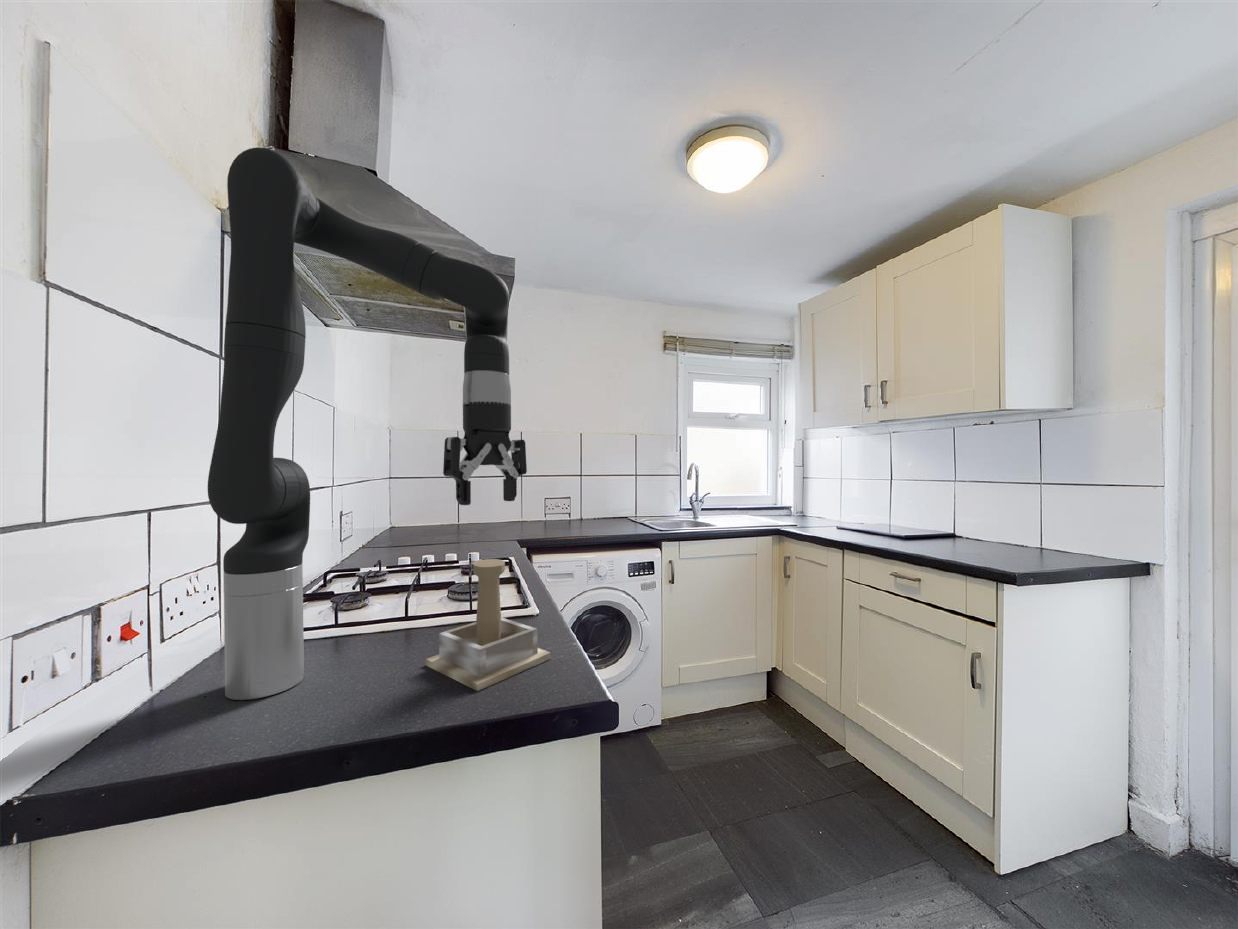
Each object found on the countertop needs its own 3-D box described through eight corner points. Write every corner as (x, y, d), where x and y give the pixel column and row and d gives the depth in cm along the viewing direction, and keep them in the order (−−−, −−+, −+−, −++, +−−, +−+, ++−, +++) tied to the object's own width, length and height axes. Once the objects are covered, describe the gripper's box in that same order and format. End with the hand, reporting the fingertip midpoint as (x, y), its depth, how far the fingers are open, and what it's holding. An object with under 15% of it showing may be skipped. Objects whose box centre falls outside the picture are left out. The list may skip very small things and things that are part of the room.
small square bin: (425, 665, 76) (425, 634, 76) (498, 639, 87) (497, 612, 87) (477, 691, 67) (477, 655, 67) (550, 658, 78) (550, 628, 78)
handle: (501, 646, 80) (501, 558, 81) (506, 661, 74) (507, 565, 75) (471, 650, 79) (471, 560, 79) (474, 666, 73) (475, 568, 73)
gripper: (508, 408, 84) (508, 499, 85) (433, 400, 73) (434, 505, 73) (536, 404, 80) (536, 501, 80) (461, 395, 69) (462, 507, 69)
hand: (487, 502), depth 77 cm, fingers open, 8 cm apart
